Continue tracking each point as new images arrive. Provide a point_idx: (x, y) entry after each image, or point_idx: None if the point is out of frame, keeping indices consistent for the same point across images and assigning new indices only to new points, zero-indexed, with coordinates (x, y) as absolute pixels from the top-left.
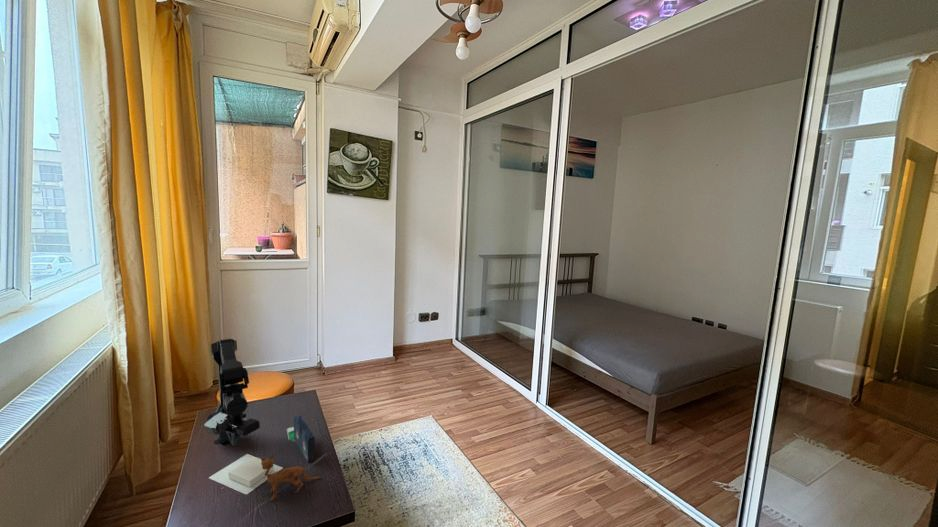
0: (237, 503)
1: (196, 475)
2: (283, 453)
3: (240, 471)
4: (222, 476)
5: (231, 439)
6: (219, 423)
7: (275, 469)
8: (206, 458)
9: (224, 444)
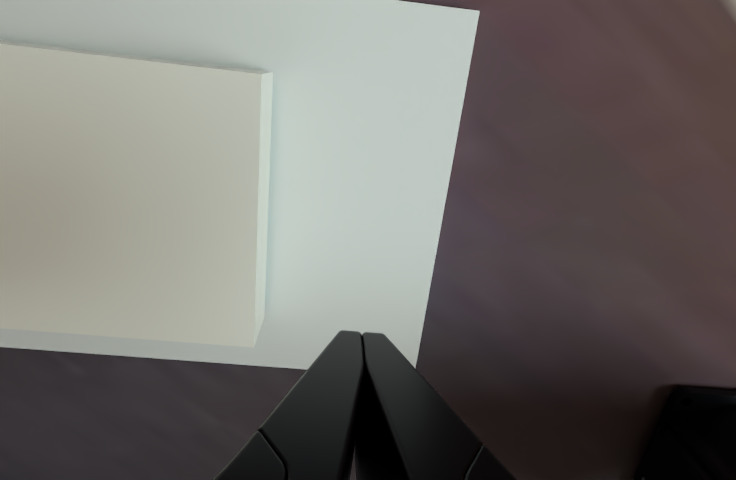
0: None
1: (638, 21)
2: (164, 464)
3: (146, 130)
4: (359, 76)
5: (375, 407)
6: None
7: None
8: (723, 236)
9: (695, 402)
